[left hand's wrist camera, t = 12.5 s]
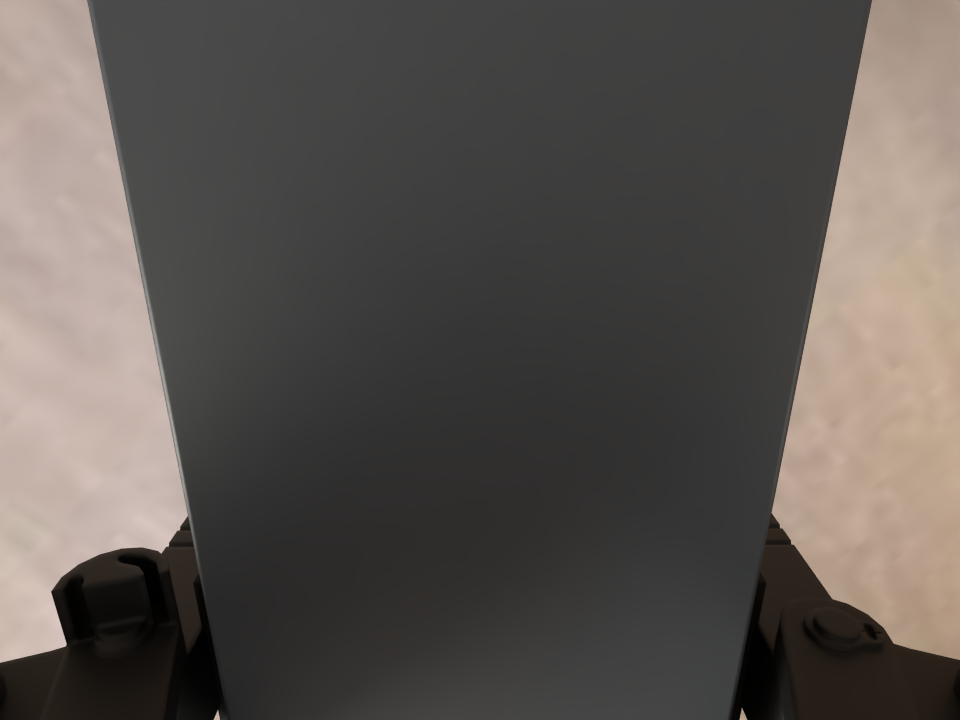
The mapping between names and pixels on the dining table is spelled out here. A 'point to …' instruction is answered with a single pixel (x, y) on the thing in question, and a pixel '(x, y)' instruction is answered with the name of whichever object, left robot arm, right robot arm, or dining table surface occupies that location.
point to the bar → (479, 333)
